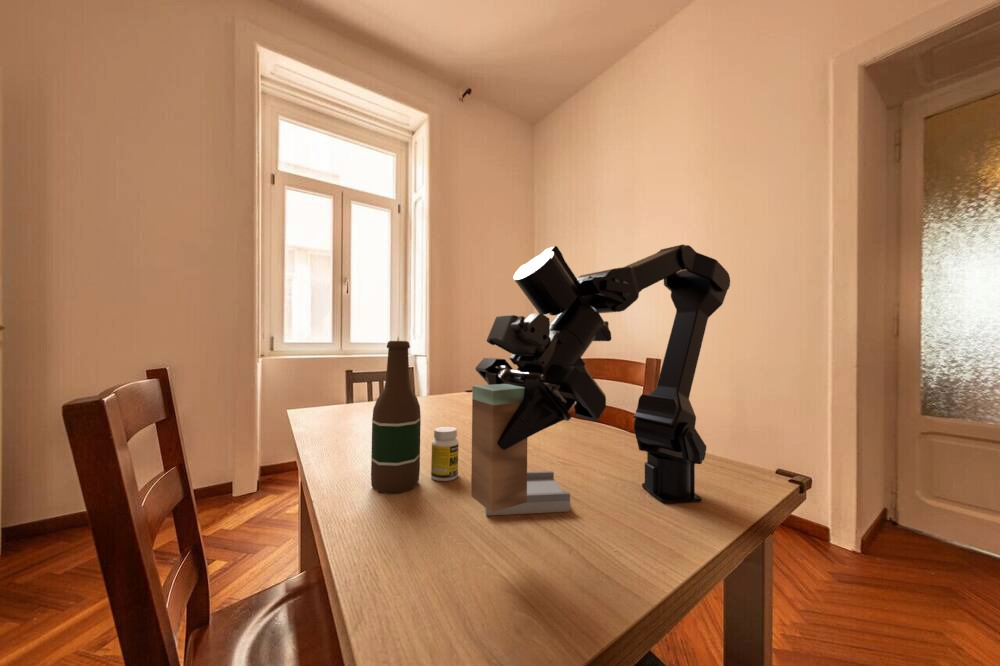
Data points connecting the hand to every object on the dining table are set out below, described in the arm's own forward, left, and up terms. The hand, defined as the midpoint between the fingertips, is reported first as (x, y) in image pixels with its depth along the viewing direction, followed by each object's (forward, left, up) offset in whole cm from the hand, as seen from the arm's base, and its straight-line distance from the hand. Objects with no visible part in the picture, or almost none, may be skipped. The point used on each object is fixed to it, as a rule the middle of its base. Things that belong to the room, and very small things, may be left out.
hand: (488, 441), depth 39 cm
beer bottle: (+13, -22, -13) cm, 29 cm away
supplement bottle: (+5, -25, -13) cm, 29 cm away
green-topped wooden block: (-1, -1, -7) cm, 7 cm away
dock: (-7, -15, -13) cm, 21 cm away
